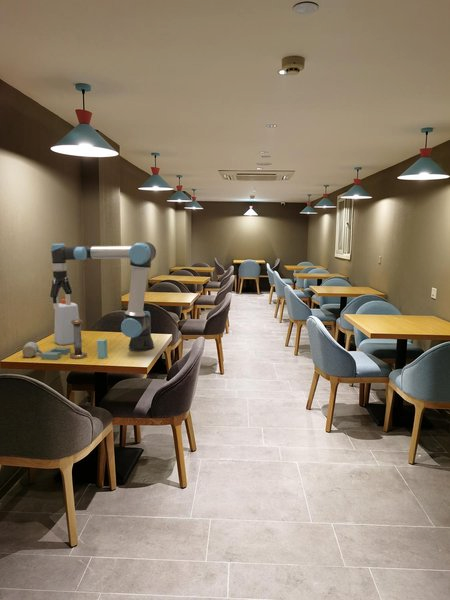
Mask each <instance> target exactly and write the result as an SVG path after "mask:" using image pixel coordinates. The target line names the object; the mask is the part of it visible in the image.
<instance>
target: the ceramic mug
mask: <svg viewBox="0 0 450 600" xmlns="http://www.w3.org/2000/svg"><path fill="white" fill-rule="evenodd" d="M21 352H22V355H23V356H24V357H25V358H33V357H35V356H37V357H41V354H43V353H44V351H42V350H40V348H39V344H37V343H36V342H34V341H28V342H27V343H25V344H24V346H23V348H22V351H21Z"/></svg>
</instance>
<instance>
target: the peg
mask: <svg viewBox="0 0 450 600" xmlns="http://www.w3.org/2000/svg"><path fill="white" fill-rule="evenodd" d="M96 347H97V359H106V358H107V357H108V342H107V339H105V338H100V339H97V341H96Z"/></svg>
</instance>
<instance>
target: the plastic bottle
mask: <svg viewBox="0 0 450 600" xmlns="http://www.w3.org/2000/svg"><path fill="white" fill-rule="evenodd" d="M70 303H71V305H66V301H65V298H62V299H60V303H59V302H58V304H59V309H54V327H53V328H54V330H53V331H54V334H53V335H54V336H53V341H54V342H55V343H56V344H57V345H58V346H59V345H60V346H69V345H74V331H73V324H71V320H80V315H79V306H78V304H77V303H75V302H72V299H71V298H70ZM82 337H83V336H81V342H82V340H83V339H82Z"/></svg>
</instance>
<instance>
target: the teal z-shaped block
mask: <svg viewBox="0 0 450 600" xmlns="http://www.w3.org/2000/svg"><path fill="white" fill-rule="evenodd" d="M68 354H69V355H70V354H72V352H71V347H63V346H62V347H61V346H59V347H58V346H55V347H53V348H51V349H49V350H47V351H45V352H43V354H41V356H40V357H41V360H45V361H46V360H47V361H48V360H49V361H51V360H52V361H57V360H59V359H61V358H62V356H63V355H64V356H67V355H68Z"/></svg>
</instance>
